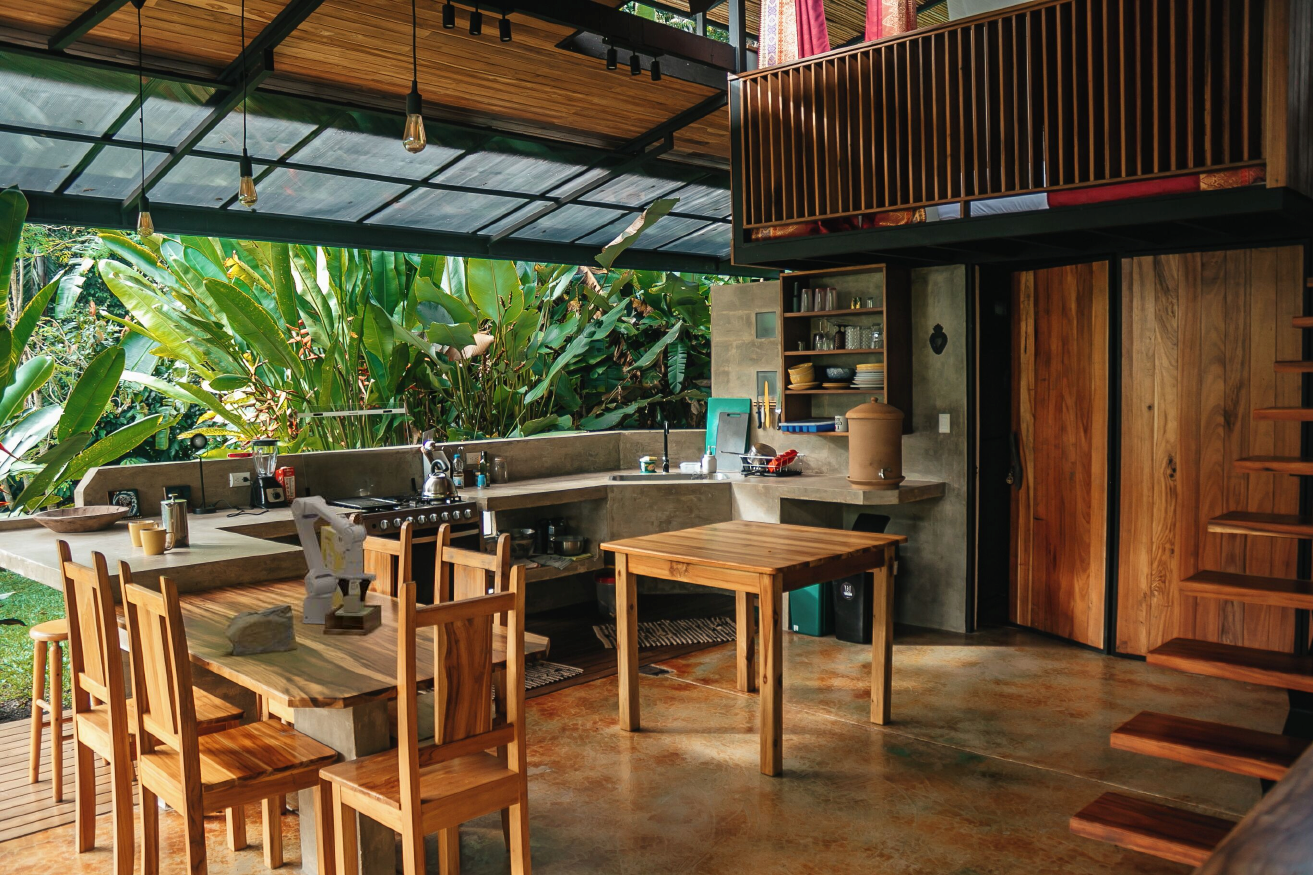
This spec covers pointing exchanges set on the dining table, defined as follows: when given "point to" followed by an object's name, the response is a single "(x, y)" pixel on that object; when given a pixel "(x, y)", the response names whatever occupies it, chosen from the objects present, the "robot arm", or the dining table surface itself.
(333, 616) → the frame
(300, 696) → the dining table surface
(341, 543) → the pasta box
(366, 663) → the dining table surface
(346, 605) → the beige cube
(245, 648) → the fossil rock
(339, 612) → the flap
